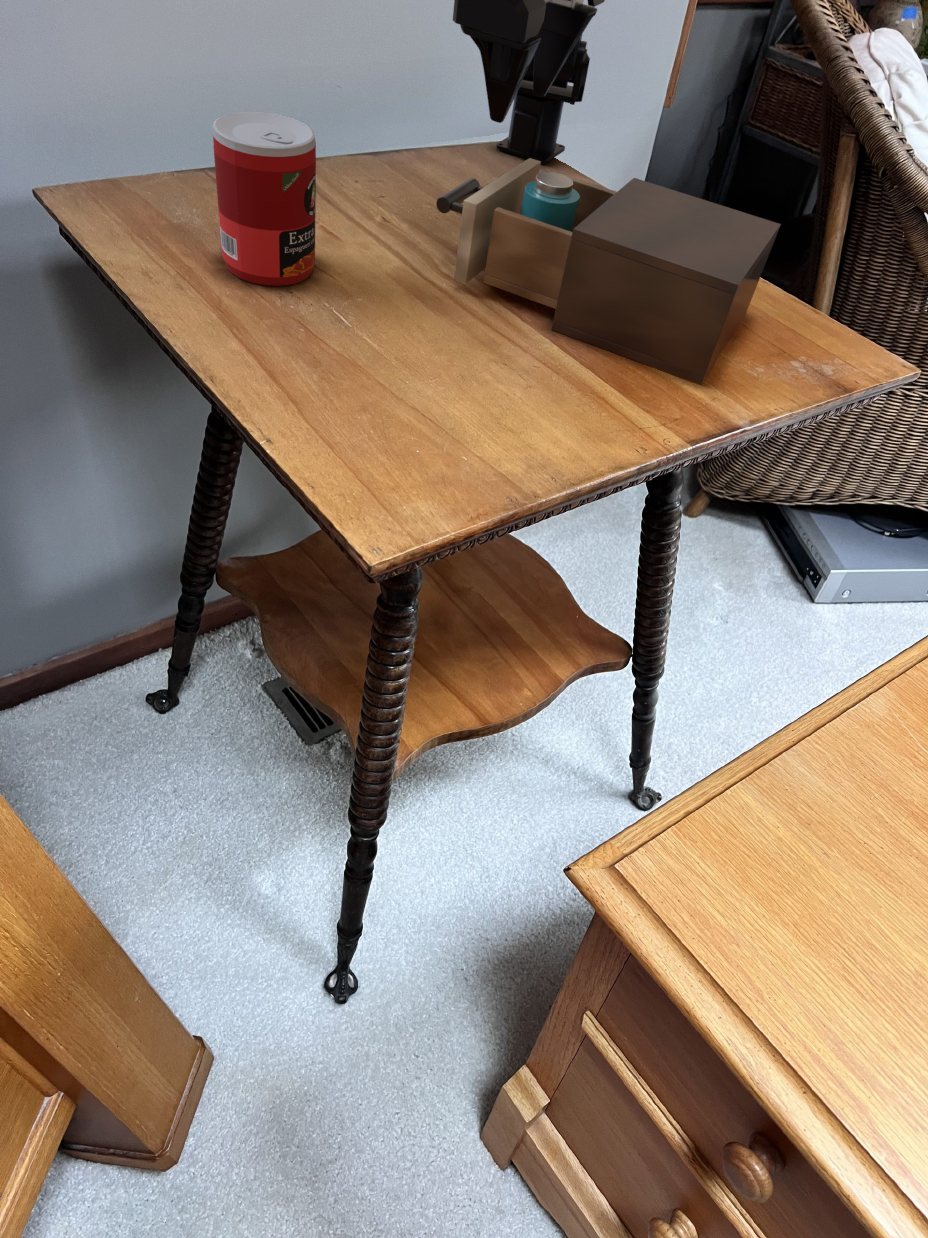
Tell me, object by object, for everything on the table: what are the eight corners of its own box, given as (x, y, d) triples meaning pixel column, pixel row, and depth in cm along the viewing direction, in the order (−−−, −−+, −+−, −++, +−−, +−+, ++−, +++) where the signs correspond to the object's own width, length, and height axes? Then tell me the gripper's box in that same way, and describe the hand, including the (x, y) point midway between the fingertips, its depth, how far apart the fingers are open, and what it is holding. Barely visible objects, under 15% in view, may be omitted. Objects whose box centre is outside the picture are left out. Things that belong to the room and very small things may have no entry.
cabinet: (550, 329, 74) (573, 228, 68) (609, 270, 83) (633, 176, 77) (701, 385, 71) (738, 284, 64) (744, 317, 80) (781, 223, 74)
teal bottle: (526, 242, 80) (540, 163, 75) (572, 259, 79) (590, 179, 74) (504, 260, 77) (517, 178, 72) (552, 277, 76) (570, 195, 71)
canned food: (298, 295, 72) (297, 154, 64) (207, 274, 73) (194, 132, 65) (327, 257, 78) (329, 123, 70) (241, 239, 78) (233, 103, 70)
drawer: (411, 264, 77) (418, 184, 72) (478, 217, 86) (488, 144, 81) (583, 327, 73) (603, 247, 68) (635, 272, 82) (656, 198, 77)
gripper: (509, -149, 73) (483, 61, 85) (400, -134, 61) (387, 108, 73) (631, -120, 71) (587, 92, 82) (542, -99, 59) (505, 146, 70)
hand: (518, 107), depth 77 cm, fingers open, 9 cm apart
